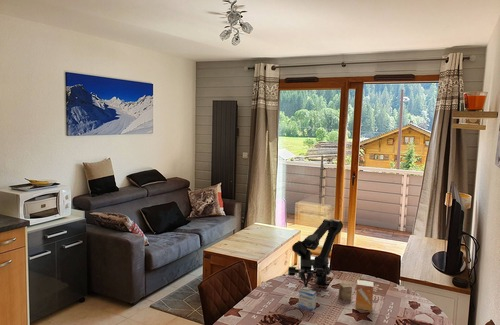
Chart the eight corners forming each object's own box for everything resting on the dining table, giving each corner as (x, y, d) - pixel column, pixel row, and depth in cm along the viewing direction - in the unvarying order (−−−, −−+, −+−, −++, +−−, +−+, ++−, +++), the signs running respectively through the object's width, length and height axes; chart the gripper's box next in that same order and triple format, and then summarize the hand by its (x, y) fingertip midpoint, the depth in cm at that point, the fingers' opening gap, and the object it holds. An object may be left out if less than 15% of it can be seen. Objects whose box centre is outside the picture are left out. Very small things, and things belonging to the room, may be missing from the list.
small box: (355, 308, 198) (356, 284, 196) (356, 303, 204) (357, 279, 202) (372, 311, 195) (373, 286, 194) (372, 305, 201) (373, 281, 200)
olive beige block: (338, 295, 212) (339, 283, 211) (347, 295, 213) (348, 282, 212) (342, 299, 207) (343, 287, 207) (351, 299, 208) (351, 286, 207)
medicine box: (298, 307, 198) (298, 290, 197) (301, 303, 202) (301, 287, 201) (313, 311, 194) (313, 294, 194) (316, 307, 198) (316, 291, 197)
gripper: (288, 252, 208) (288, 280, 198) (324, 254, 206) (325, 282, 197) (288, 261, 217) (287, 288, 207) (322, 262, 215) (323, 290, 205)
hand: (305, 287), depth 204 cm, fingers closed
